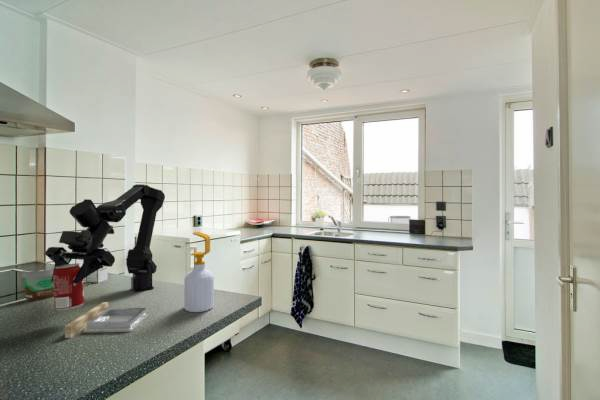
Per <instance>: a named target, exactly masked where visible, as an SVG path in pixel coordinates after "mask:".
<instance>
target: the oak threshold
mask: <svg viewBox="0 0 600 400" xmlns="http://www.w3.org/2000/svg"><path fill="white" fill-rule="evenodd" d="M107 309H109V301H108V302H107V301H105V302H104V301H103V302H102V303H100V304H98V305H96V306H95V307H93V308H92V309H90V310H89V311H87V312H85V313H84V314H82V315H80V316H79V317H77V318H75V319H74V320H73V321H70V322H69V323H67V324H66V325H64V338H65V339H67V338H69V339H71V338H73V337H74V336H76V335H77V334H78V333H80V332H82V331H84V329H85V328H87V323H88V322H89V321H91V320H92V319H94V318H95V317H97V316H98V315H100V314H101V313H103V312H104V311H106V310H107Z"/></svg>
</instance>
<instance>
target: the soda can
mask: <svg viewBox="0 0 600 400" xmlns="http://www.w3.org/2000/svg"><path fill="white" fill-rule="evenodd" d="M55 268H56V270H55V271H54V273H53V286H54V297H53V299H54V300H53V301H54V303H53V304H54V310H57V311H59V312H66V311H67V312H68V311H72V310H76V309H78V308H81V306H83V305H84V304H85V290H84V288H85V287H84V279H83V280H81V281H80V282H78V283H76V284H75V283H73V281H74V279H75V277H76V275H77V273H78V271H79V270H80V268H81V266H80V263H69V264H67V265H61V266H56V267H55Z"/></svg>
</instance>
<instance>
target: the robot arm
mask: <svg viewBox="0 0 600 400" xmlns="http://www.w3.org/2000/svg"><path fill="white" fill-rule="evenodd" d="M165 199H166V195H165V193H164V192H163V190H161V189H158V188H154V187H152V186H150V185H147V184H141V183H140V184H137V183H136V184H134V185H132V187H131V188H130V189H128V190H127V191H126V192H124V193H122V194H121V195H120V196H119V197H117V198H116V199H114V200H110V201H105V202H104V203H101V204H99V205H98V206H96V205H95V203H94V202H93V200H92V199H88V198H86V199H84V200H83V201H81V202H78V203H76V204H74V205H73V206H72V207H71V208H70V209H69V215H71V217H72V218H73V219H74V220H75V221H76V223H78V224H79V225H80V227H82V228H84V229H85V228H86V229H85V230H84V229H83V230H82V229H81V231H70V230H69V231H68V230H64V231H62V232H61V235H60V238H59V240H58V243H59V244H65V245H67V248H68V249H69V250H71V251H68V250H67V249H66V248H65V247H63V246H49V247H47V249H46V251H45V252H44V255H45V256H46V257H47V258H49V259H50V260H51V261H52V262H53V263H54V266H53V269H54V271H55V270H56V268H55V267H56V266H61V265H67V264H71V261H72V260H80V261H81V260H82V264H81V266H80V267H81V268H80V270H79V271H78V273H77V275H76V277H75V279H74V281H73V283H75V284H76V283H78V282H80V281H81V280H83V281H84V279H86V277H87V276H89V275H90V274H92V273H93V272H95V271H97V270H98V269H102V268H103V266H107V268H108V267H113V265H114V263H115V260H116V257H115V256H114V255H113V254H112V253H111V252H110V250H109V249H108V248H107V249H101V248H103V246H105V245H104V243H103V242H104V240H105V239H106V238H107V235H114V234H115V229H114V225H110V223H120V221H122V220H123V218H124V217H125V216H126V214H127V210H128V209H129V208H131V207H132V206H133V205H134V204H135V203H137V202H138V201H140V205H141V208H142V215H141V219H140V224H139V229H138V233H137V236H136V237H137V238H136V243H135V246H134V247H133V248H132V249H130V248H129V250H128V252H127V256H126V259H125V261H126V262H125V263H126V265H125V266H126V268H127V272H128V274H132V277H130V289H132V290H133V291H135V292H143V291H148V290H152V289H155V287H154V286H153V274H155V273H156V272H157V267H158V266H157V265H156V263H155V262H154V260H153V252H152V251H151V248H150V246H151V242H152V237H153V233H154V227H155V222H156V218H157V213H158V212H159V211H160V209H161V208H162V207H163V205H164V202H165ZM102 265H103V266H102ZM54 271H53V273H54ZM51 281H52V282H53V275H52V279H51Z"/></svg>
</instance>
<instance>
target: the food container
mask: <svg viewBox="0 0 600 400" xmlns="http://www.w3.org/2000/svg"><path fill="white" fill-rule="evenodd" d="M53 271H54V268H42V269H38V270H33V271H28V270H27V271H26V270H22V272H21V274H20V277H21V278H22V279H23V284H24V285H23V286H24V293H25V298H26V300H27V299H30V300H29V301H39V300H41V301H42V300H47V299H51V298H54V286H53V282H52V281H51V279H52V275H53Z"/></svg>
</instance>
